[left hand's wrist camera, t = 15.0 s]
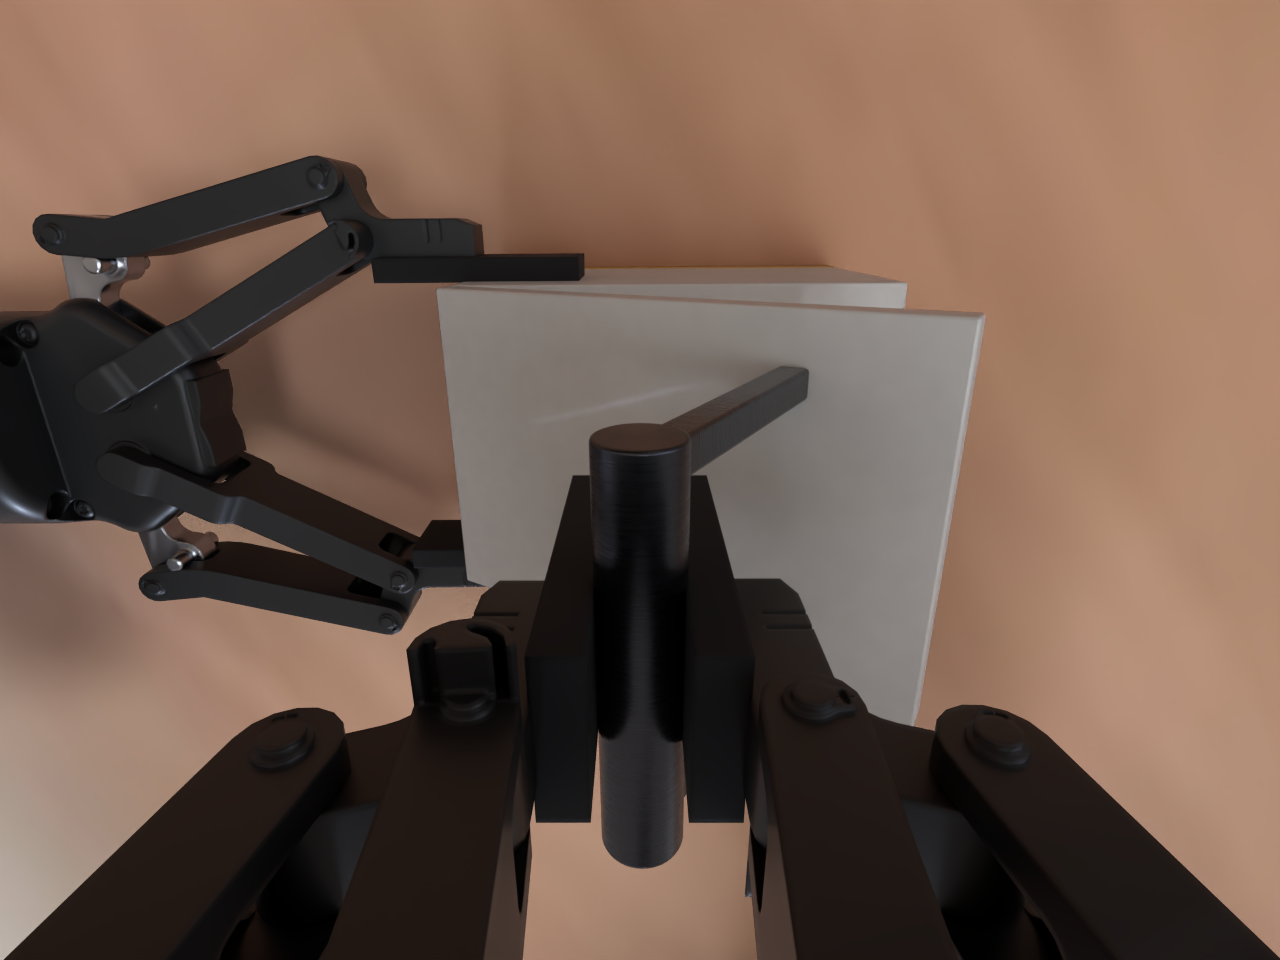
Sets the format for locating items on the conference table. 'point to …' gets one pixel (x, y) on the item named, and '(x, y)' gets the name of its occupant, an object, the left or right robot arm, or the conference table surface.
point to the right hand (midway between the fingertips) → (586, 414)
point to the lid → (711, 487)
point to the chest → (731, 284)
